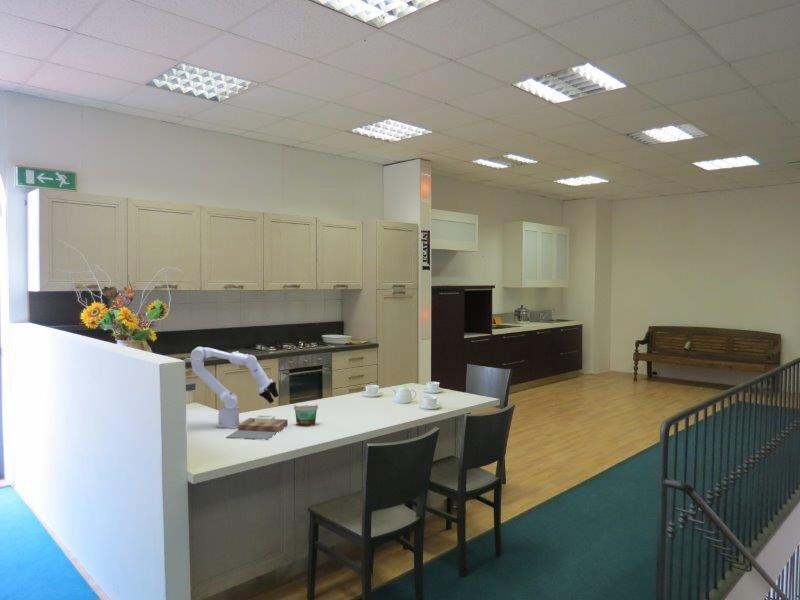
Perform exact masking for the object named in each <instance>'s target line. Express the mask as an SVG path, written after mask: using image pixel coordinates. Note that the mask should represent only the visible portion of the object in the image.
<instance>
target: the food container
mask: <svg viewBox="0 0 800 600" xmlns="http://www.w3.org/2000/svg"><path fill="white" fill-rule="evenodd" d="M318 409H319V405H318V404H315V405H306V404H305V405H295V404H294V406H293V410H294V411H295V420H296V422H295V423H296V425H297V426H298V425H299V426H298V427H311V426H310V425H312V426H315V425H316V419H317V411H318ZM314 424H315V425H314Z"/></svg>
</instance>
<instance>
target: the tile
mask: <svg viewBox="0 0 800 600" xmlns="http://www.w3.org/2000/svg"><path fill="white" fill-rule="evenodd" d="M254 418H255V422H259V423H271V422H273V421H274V420H275V419H276V416H275V415H257V416H256V417H254Z"/></svg>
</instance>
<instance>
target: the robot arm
mask: <svg viewBox="0 0 800 600" xmlns="http://www.w3.org/2000/svg"><path fill="white" fill-rule="evenodd" d="M189 357H190V358H189V360H190V364H191V368H192V372H193V373H194V374H195V375H196V376H197V377H198V378H199V379H201V381H202V382H203V383H204V384H206V385H207V386H208V387H209V389H211V390H212V392H214V393H215V394H216V395H217V396H218V397H219V399H220V400H221V401H222V403H223V405H224V407H222V408H220V409H219V411H218V415H217V417H218V420H217V421H218V425H217V428H221V429H223V428H225V429H228V428H229V429H238V425H239V424H240V406H239V405H238V403H239V396H238V394H236V393H234V392H231V390H229V389H227V388H226V387H225V386H224V385H223V384H222V383H221V382H220V381H219V380H218V379H217V378H215V376H214V375H213V374H212V373H211V372H210V371H209V370H207V368H205V366H204V365H205V359H209V358H211V357H212V358H213V357H214V358H219V359H223V360H228V361H229V362H230V363H231V364H234V365H240V366H245V367H246V368H247V369H248V370H249V372H250V374H251V375H252V377H253V379H254V380H255V382H256V384H257V385H258V386H259V389H258V392H259V393H258V395H259V397H262V398H263V399H265V400H266V401H267V402H268V403H269V404H272V403H274V402H275V401H274V398H277V397H279V392H278V390H277V389H278V388H277V382H276V381H274V380H273V379H272V378H268V376H267V374H266V373H265V371H264V369H263V368H262V366H261V364H260V363H259V362H258V360H257V359H258V358H257V357H256V356H255V355H253V354H249V353H246V354H245V353H241V352H240V351H238V350H236V351H232V352H226V351H222V350H219V349H215V348H212V347H205V346H204V347H203V346H197V347H195V348H194V349H192V351H191V353H190V355H189ZM273 397H274V398H273Z"/></svg>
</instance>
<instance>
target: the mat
mask: <svg viewBox="0 0 800 600" xmlns="http://www.w3.org/2000/svg"><path fill="white" fill-rule="evenodd" d="M276 433H277V432H264V431H243V430H238V429H237V430H236V431H234V432H232V433H231V434H229V435H227V436H226V439H235V438H244V439H243V440H255V439H267V440H266V441H268V439H269V438H270V439H272V438H273V437H274V436H275V435H277V434H278V433H277V434H276ZM273 435H274V436H273ZM272 436H273V437H272ZM270 439H269V440H270Z"/></svg>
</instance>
